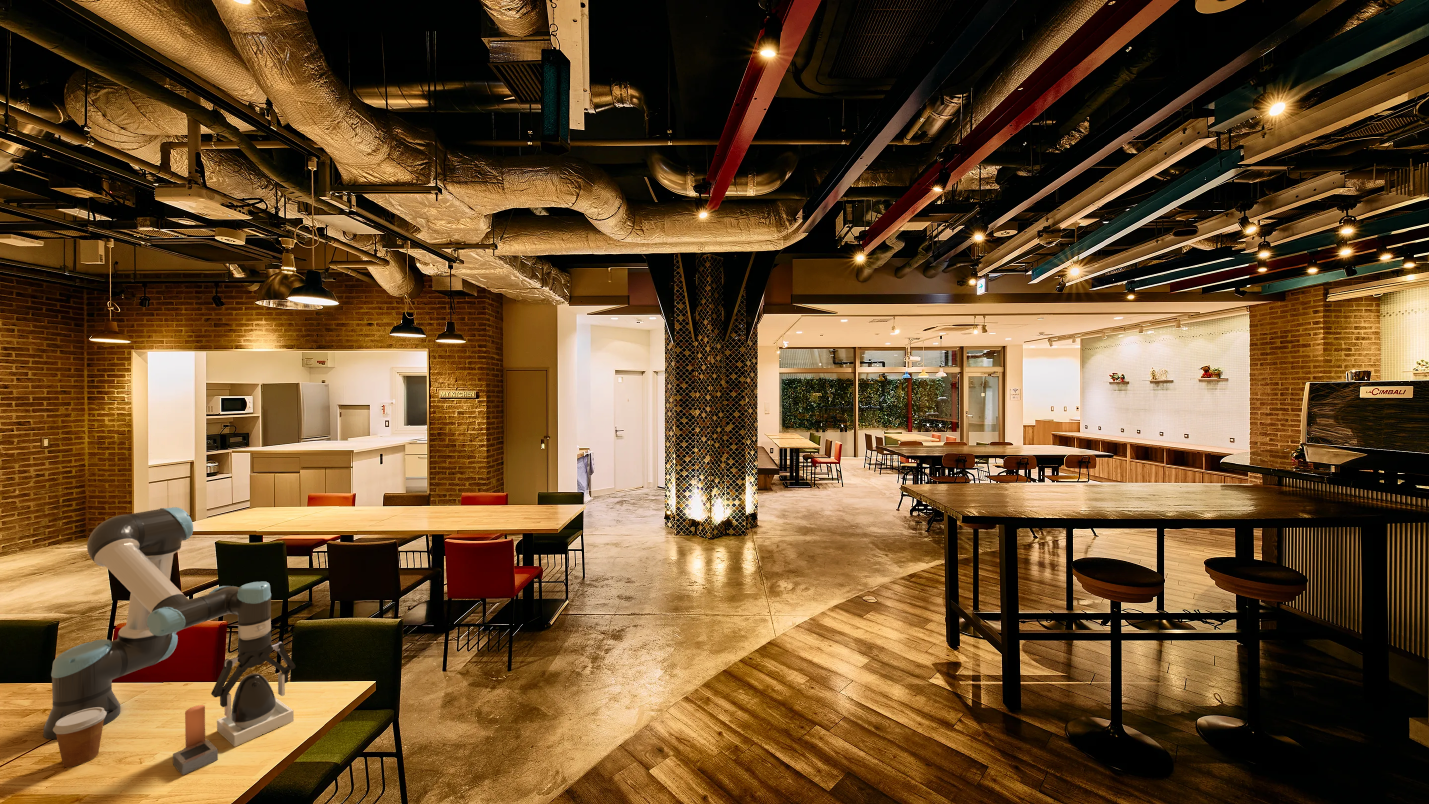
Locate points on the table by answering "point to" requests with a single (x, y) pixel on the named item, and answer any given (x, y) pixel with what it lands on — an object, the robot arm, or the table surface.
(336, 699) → the table surface
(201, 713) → the pin
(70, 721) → the disposable coffee cup
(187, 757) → the pin mount
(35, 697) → the table surface
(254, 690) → the dark piece
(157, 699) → the table surface
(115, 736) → the table surface
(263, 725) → the dock cradle
